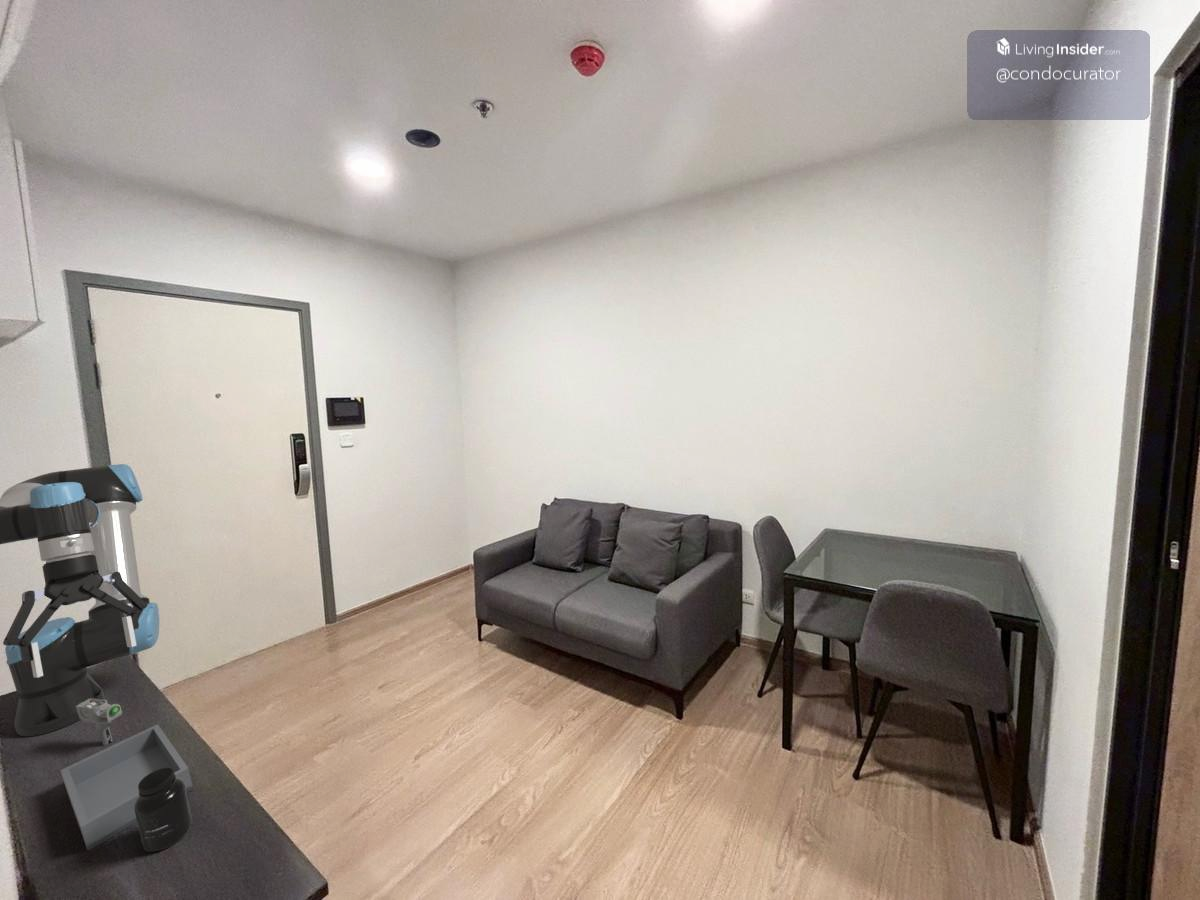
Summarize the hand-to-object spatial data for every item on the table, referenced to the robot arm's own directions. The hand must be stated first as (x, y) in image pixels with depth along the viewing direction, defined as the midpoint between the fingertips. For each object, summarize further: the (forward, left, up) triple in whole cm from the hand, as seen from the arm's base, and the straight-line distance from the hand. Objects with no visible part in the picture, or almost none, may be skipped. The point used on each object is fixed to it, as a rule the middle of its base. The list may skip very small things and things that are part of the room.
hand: (88, 660), depth 100 cm
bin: (+10, -3, -25) cm, 27 cm away
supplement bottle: (+29, -8, -26) cm, 39 cm away
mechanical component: (-11, +5, -26) cm, 28 cm away
